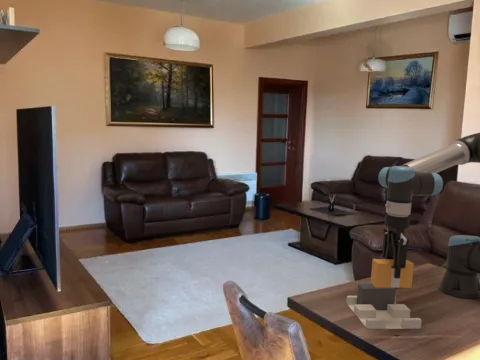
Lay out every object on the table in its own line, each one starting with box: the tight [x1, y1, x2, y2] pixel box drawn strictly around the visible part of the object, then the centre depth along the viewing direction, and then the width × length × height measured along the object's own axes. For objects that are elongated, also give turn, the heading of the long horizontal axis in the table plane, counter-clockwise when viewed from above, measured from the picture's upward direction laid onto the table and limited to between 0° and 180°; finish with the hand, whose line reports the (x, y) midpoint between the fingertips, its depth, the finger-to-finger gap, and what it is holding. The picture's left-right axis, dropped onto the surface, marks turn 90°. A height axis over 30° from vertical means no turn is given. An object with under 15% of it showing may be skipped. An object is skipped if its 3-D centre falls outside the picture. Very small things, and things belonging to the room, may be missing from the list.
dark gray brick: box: [356, 283, 397, 310], centre depth 156 cm, size 12×4×8 cm, turn 96°
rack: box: [346, 295, 423, 330], centre depth 151 cm, size 18×20×4 cm
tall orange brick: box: [370, 258, 415, 289], centre depth 143 cm, size 12×4×8 cm, turn 96°
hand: (391, 283), depth 144 cm, fingers closed on tall orange brick, 4 cm apart
